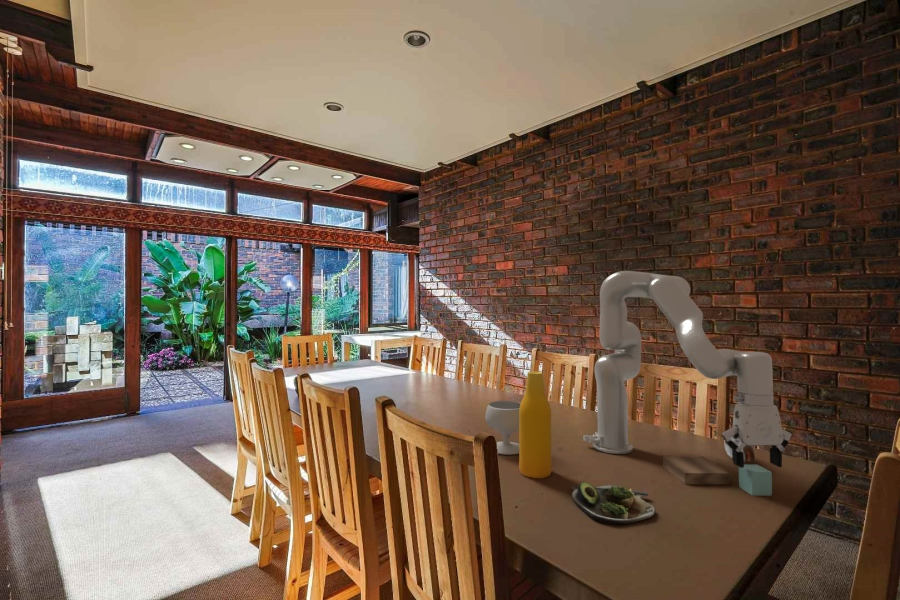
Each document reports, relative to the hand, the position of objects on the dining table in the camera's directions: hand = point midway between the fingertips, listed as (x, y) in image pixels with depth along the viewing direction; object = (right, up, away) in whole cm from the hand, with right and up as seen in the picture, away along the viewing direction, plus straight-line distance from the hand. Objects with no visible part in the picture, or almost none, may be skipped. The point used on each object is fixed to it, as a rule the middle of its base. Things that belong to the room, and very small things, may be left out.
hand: (757, 465), depth 109 cm
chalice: (-61, -7, +32) cm, 69 cm away
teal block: (0, -7, 0) cm, 7 cm away
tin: (+9, -7, +20) cm, 23 cm away
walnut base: (-10, -7, +10) cm, 16 cm away
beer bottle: (-55, -7, +13) cm, 57 cm away
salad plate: (-41, -8, -7) cm, 43 cm away
